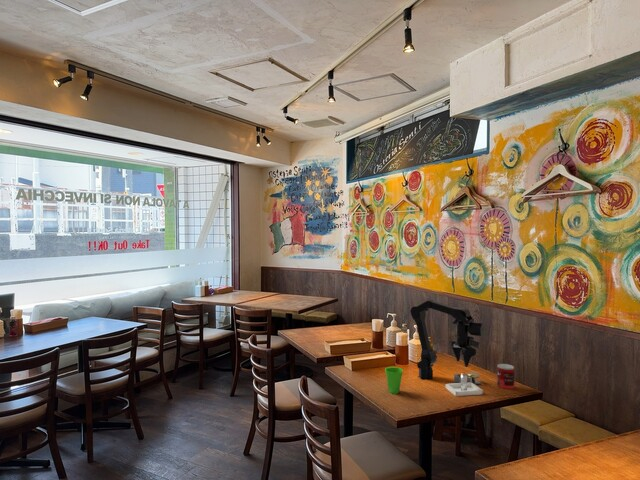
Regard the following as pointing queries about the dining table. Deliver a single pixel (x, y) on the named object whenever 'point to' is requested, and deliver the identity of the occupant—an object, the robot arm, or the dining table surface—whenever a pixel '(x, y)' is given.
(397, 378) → the cup
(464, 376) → the pin
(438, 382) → the dining table surface
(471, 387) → the tray
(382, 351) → the dining table surface
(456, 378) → the plate
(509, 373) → the canned food
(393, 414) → the dining table surface
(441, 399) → the dining table surface
